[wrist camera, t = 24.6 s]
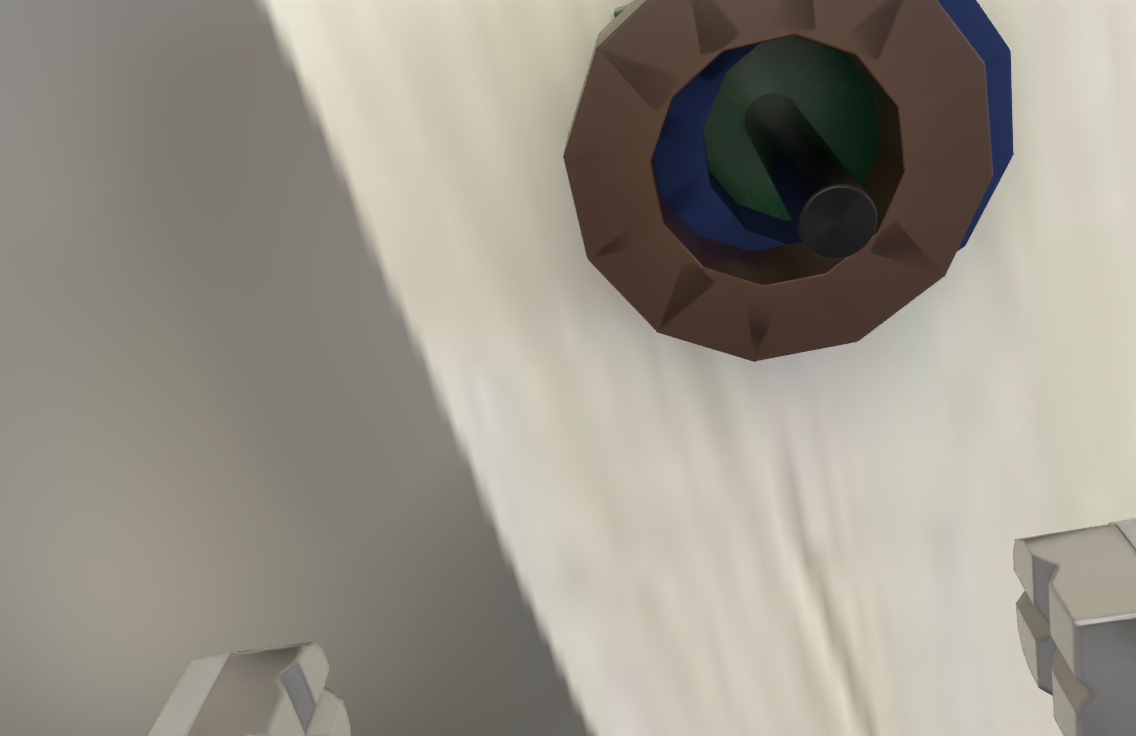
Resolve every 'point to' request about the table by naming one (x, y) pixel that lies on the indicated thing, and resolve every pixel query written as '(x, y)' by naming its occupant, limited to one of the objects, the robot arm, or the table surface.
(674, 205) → the navy ring
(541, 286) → the table surface
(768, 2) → the walnut ring
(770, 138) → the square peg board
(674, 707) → the table surface
